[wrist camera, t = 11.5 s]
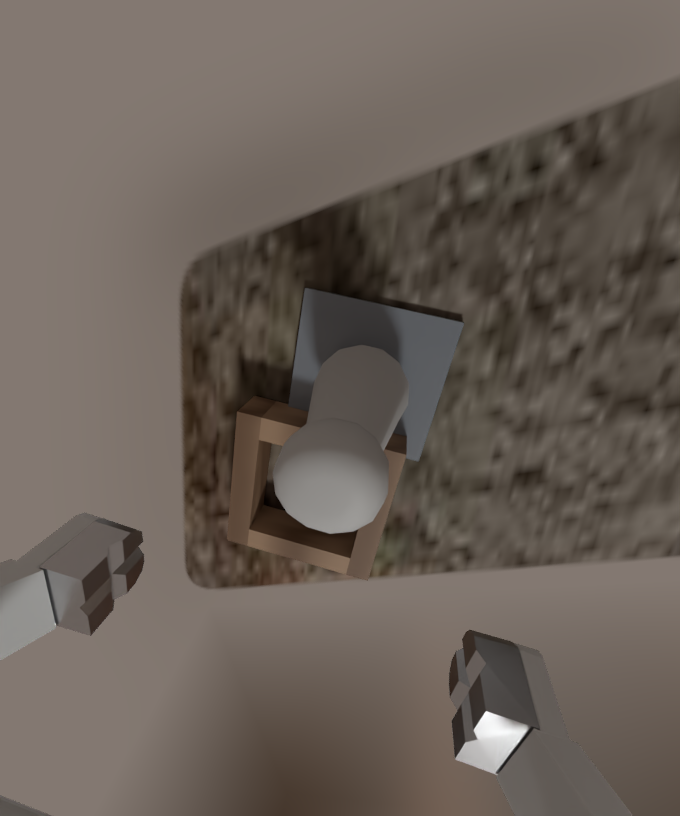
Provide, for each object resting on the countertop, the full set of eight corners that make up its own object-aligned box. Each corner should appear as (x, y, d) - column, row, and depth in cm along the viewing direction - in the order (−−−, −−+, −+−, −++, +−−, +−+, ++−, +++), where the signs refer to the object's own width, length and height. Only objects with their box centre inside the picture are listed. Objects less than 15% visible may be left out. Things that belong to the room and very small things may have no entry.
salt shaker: (335, 425, 26) (272, 566, 14) (312, 348, 24) (219, 436, 12) (417, 411, 24) (423, 556, 13) (400, 328, 23) (389, 406, 11)
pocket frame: (406, 433, 26) (406, 454, 23) (371, 551, 30) (367, 580, 28) (254, 395, 27) (237, 411, 24) (242, 515, 31) (227, 539, 29)
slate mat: (463, 321, 22) (464, 322, 22) (418, 458, 26) (418, 461, 26) (306, 287, 23) (304, 287, 23) (286, 424, 27) (285, 427, 27)
